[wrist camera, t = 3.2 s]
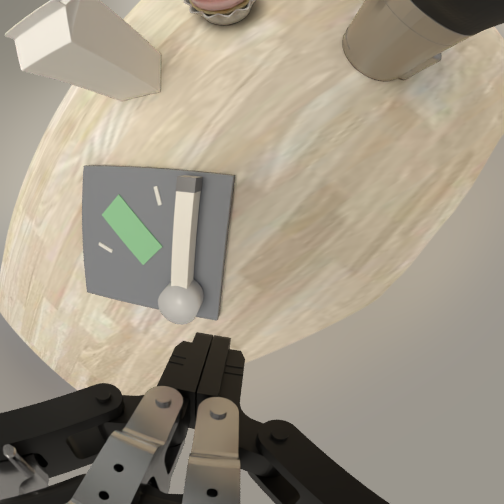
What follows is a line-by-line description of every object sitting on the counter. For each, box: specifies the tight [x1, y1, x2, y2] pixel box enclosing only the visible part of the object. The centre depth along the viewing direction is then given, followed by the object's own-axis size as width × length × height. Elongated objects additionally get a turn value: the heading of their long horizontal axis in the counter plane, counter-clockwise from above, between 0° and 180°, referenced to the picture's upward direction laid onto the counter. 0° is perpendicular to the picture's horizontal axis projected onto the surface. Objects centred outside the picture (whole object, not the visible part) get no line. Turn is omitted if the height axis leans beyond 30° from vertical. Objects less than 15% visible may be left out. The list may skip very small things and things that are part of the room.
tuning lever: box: [158, 175, 204, 324], centre depth 31 cm, size 18×5×4 cm, turn 172°
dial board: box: [82, 165, 235, 320], centre depth 34 cm, size 21×19×2 cm
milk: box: [5, 0, 161, 101], centre depth 18 cm, size 6×6×22 cm
